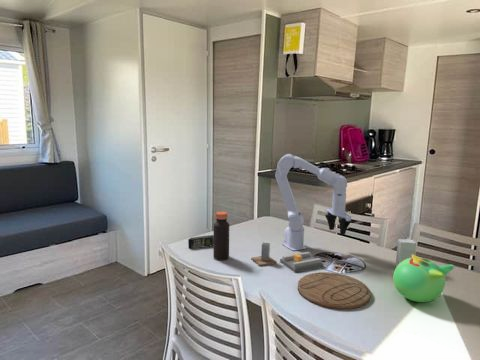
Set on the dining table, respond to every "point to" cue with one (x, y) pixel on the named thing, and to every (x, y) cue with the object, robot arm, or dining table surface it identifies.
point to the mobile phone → (201, 241)
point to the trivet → (334, 291)
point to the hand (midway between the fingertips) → (337, 232)
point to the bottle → (221, 237)
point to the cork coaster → (263, 263)
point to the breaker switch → (297, 257)
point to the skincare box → (405, 250)
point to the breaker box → (301, 262)
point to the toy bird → (420, 279)
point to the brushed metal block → (265, 252)
